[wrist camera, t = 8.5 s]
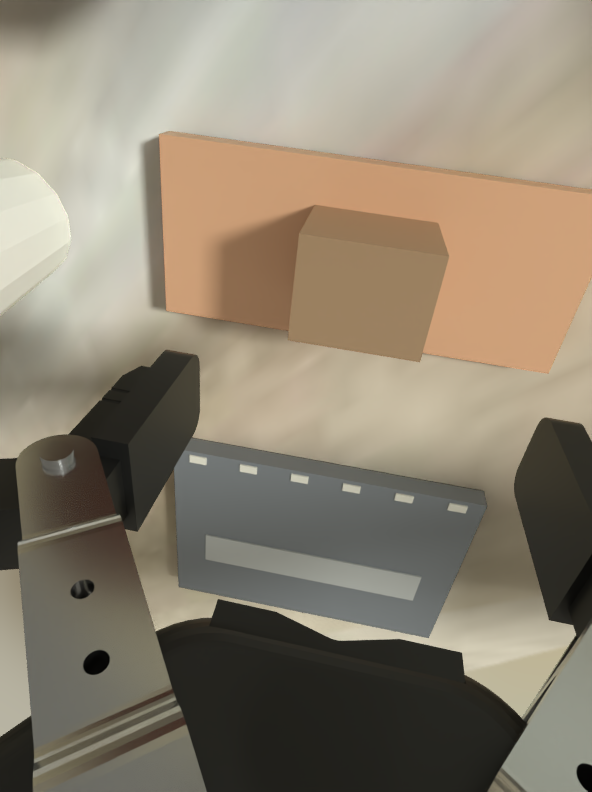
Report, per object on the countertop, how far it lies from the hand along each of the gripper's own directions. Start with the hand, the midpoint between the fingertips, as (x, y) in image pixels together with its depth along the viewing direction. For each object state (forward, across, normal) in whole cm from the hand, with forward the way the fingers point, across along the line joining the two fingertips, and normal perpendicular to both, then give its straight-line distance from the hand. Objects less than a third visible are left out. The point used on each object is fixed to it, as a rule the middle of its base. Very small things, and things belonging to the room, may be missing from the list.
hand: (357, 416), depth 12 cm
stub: (+13, 0, 0) cm, 13 cm away
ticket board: (+13, 0, +19) cm, 23 cm away
